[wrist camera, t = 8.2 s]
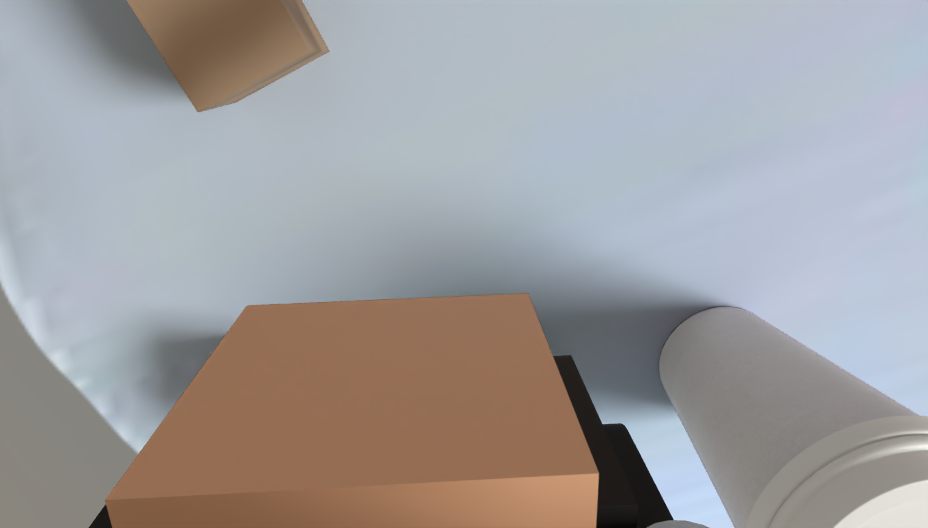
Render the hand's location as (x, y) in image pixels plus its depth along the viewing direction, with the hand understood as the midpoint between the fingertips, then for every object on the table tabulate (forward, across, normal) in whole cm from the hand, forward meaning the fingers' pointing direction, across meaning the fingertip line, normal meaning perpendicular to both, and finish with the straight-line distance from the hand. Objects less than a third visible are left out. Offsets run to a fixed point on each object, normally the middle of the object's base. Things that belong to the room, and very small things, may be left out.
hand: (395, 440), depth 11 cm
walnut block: (+21, +7, -8) cm, 23 cm away
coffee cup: (+21, -16, +10) cm, 28 cm away
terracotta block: (+1, 0, 0) cm, 1 cm away
